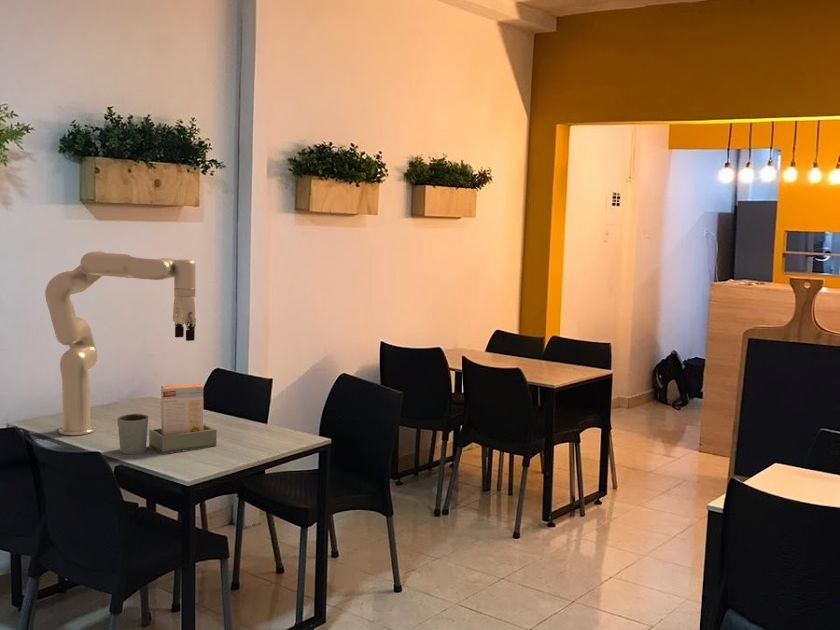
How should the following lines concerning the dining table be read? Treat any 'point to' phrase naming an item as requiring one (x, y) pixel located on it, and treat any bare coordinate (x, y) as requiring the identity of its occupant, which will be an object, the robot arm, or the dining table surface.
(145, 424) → the grey-green cup
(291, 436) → the dining table surface
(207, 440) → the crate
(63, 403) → the robot arm
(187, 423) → the cracker box
